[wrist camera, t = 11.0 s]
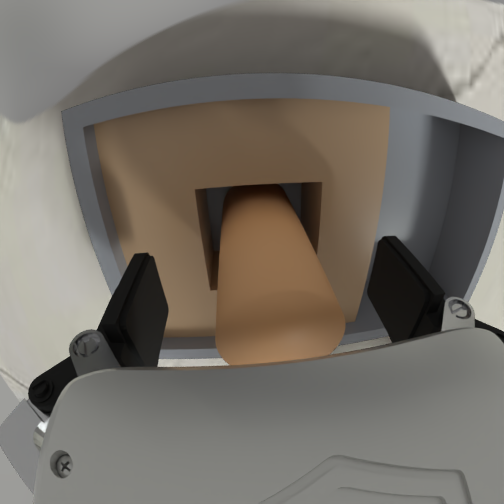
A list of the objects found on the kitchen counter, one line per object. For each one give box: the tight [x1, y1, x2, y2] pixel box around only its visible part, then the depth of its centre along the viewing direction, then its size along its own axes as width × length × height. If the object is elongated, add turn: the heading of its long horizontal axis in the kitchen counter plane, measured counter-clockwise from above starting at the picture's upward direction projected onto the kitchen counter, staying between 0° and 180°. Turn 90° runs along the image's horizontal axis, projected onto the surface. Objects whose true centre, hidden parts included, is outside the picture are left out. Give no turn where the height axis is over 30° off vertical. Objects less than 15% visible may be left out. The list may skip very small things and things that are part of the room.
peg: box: [215, 183, 345, 365], centre depth 12 cm, size 4×4×10 cm
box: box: [61, 73, 504, 359], centre depth 15 cm, size 24×15×6 cm, turn 92°
